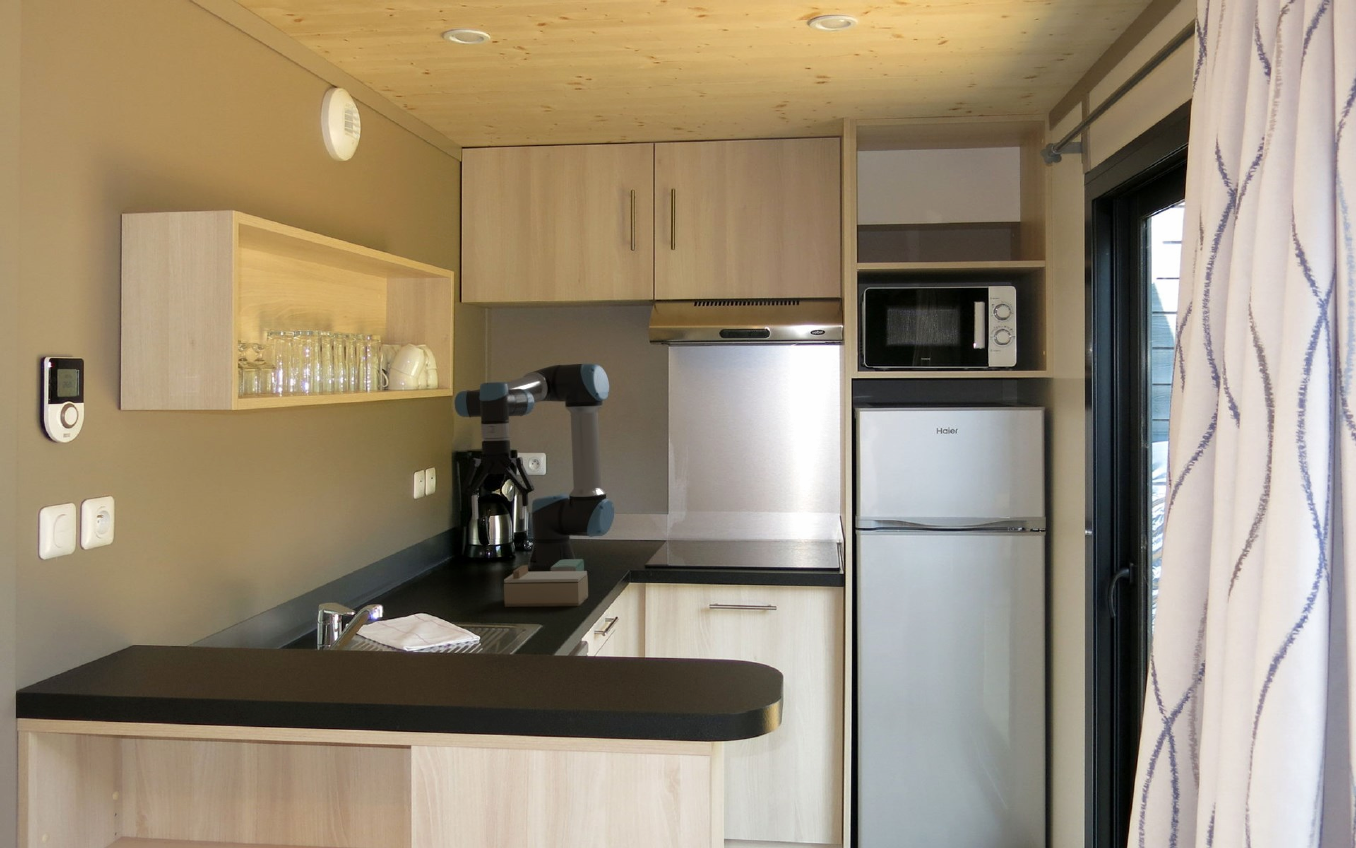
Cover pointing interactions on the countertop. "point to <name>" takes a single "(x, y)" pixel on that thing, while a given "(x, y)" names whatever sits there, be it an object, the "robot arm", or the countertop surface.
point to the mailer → (546, 593)
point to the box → (569, 565)
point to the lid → (544, 576)
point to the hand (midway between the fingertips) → (498, 519)
